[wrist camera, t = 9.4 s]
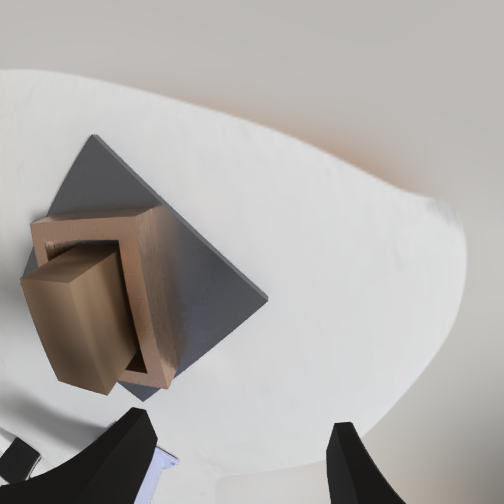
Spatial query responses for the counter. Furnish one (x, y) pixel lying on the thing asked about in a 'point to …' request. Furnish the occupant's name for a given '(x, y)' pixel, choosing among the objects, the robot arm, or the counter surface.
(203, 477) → the counter surface
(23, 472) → the battery charger
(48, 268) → the block
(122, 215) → the duct collar
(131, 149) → the counter surface
